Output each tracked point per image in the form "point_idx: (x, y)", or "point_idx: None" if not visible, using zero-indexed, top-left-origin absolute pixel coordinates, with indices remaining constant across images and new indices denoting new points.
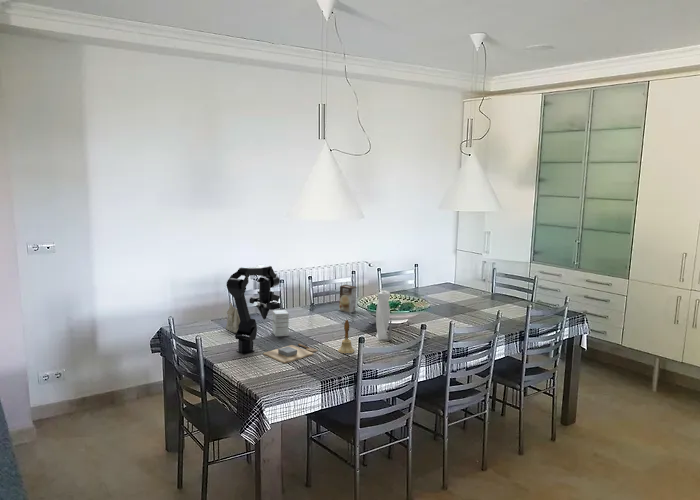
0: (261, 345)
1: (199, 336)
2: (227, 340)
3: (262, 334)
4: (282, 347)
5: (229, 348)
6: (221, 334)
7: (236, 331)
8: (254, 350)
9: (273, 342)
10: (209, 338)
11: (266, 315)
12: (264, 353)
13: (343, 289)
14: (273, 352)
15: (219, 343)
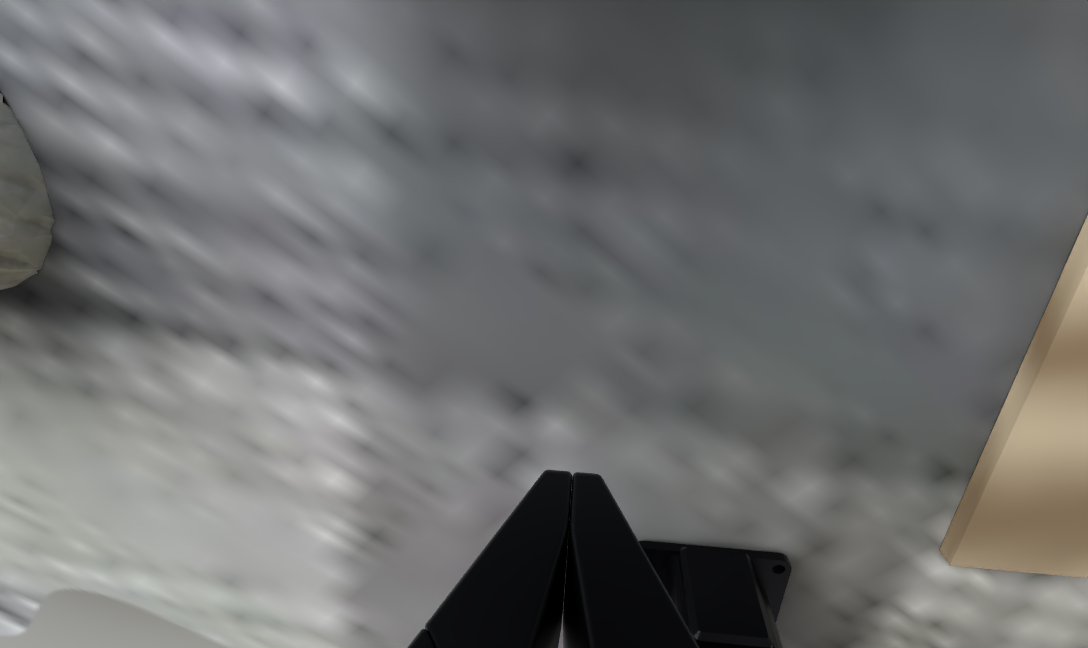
0: (688, 374)
1: (7, 595)
2: (261, 510)
3: (265, 12)
4: (1080, 286)
5: None
6: (17, 434)
7: (2, 287)
8: (788, 563)
9: (731, 165)
10: (109, 576)
11: (649, 589)
12: (970, 564)
13: None
14: (1066, 493)
15: (309, 602)
